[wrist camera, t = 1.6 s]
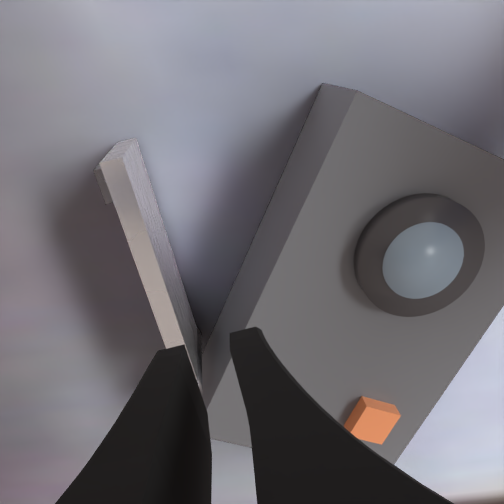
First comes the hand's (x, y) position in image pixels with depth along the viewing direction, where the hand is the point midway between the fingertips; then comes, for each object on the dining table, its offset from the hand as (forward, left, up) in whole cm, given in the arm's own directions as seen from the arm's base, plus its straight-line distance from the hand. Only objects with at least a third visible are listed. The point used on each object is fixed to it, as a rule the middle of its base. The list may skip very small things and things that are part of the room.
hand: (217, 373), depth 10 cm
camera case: (0, +7, -9) cm, 11 cm away
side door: (+2, -2, -9) cm, 9 cm away
